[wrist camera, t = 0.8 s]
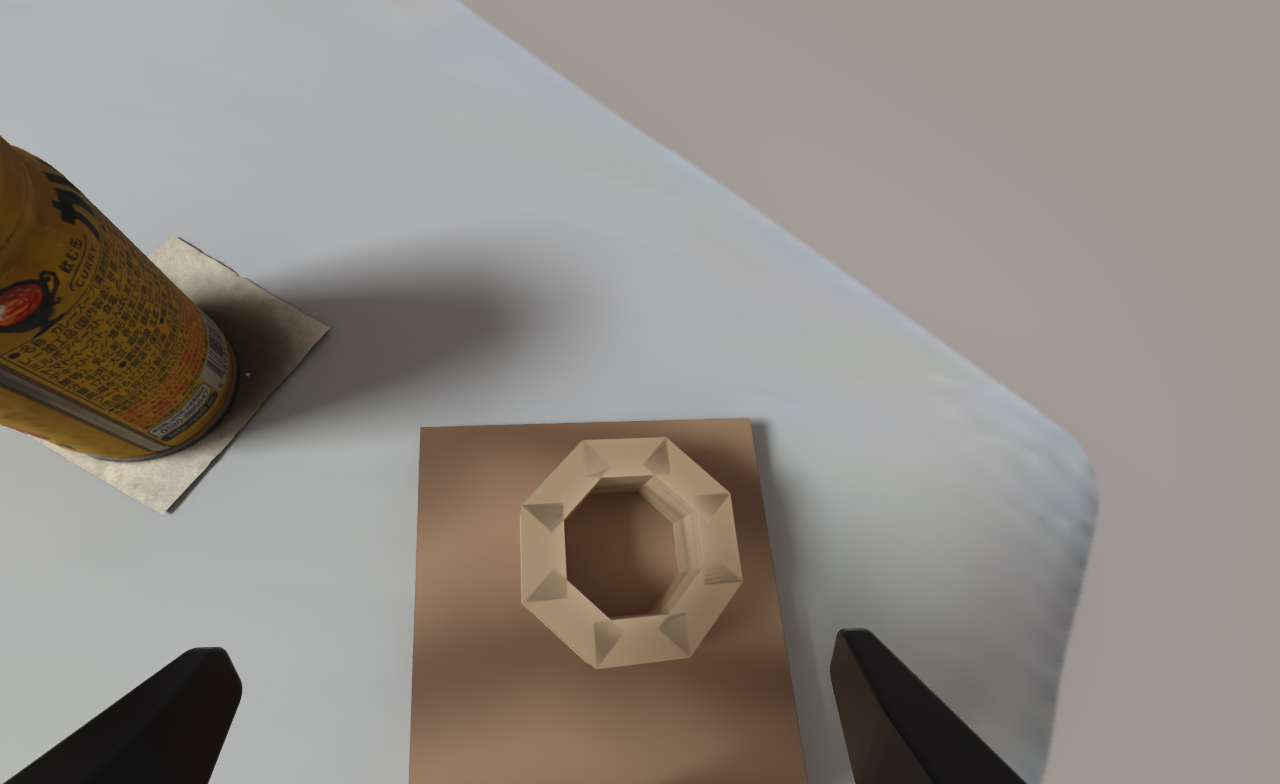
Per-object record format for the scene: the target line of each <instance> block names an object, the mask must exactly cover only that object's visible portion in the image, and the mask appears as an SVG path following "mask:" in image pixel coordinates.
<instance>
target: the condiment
mask: <svg viewBox="0 0 1280 784" xmlns="http://www.w3.org/2000/svg"><path fill="white" fill-rule="evenodd" d="M329 328H330V327H328V326H326V325H325V324H323V323H321V322H319V321H318V320H316V319H314V318H312V317H310V316H308V315H306V314H305V313H303V312H301V311H300V310H298V309H296V308H294V307H293V306H291V305H289V304H288V303H286V302H284V301H282V300H281V299H279V298H277V297H276V296H274V295H272V294H270V293H268V292H267V291H265V290H263V289H262V288H260V287H258V286H257V285H255V284H253V283H252V282H250V281H248V280H247V279H245V278H243V277H240V276H239V275H238V274H236V273H235V272H233V271H231V270H230V269H228V268H227V267H225V266H223V265H221V264H220V263H218V262H217V261H215V260H213V259H211V258H210V257H208V256H206V255H204V254H203V253H201V252H199V251H198V250H197V249H195V248H193V247H192V246H190V245H188V244H187V243H185V242H183V241H181V240H180V239H178V238H176V237H175V236H172V237H171V238H169V239H168V240H167V241H166V242H165V243H164V244H163V245H161V246H159V247H158V248H157V249H156V250H155V251H153V252H152V253H151V255H150V256H149V257H148V258H147V257H146V255H144V254H143V253H142V252H141V251H140V250H139V249H138V248H137V247H136V246H135V245H134V244H133V243H132V242H131V241H130V240H129V239H128V238H127V237H126V236H125V235H124V234H123V233H122V232H121V231H120V230H119V229H118V228H117V227H116V226H115V225H114V224H113V223H112V222H111V221H110V220H109V219H108V218H107V217H106V216H105V215H104V214H103V213H102V212H101V211H100V210H99V209H98V208H97V207H96V206H95V205H93V204H92V203H91V202H90V201H89V200H88V199H87V198H86V197H85V196H84V194H83V193H82V192H81V191H80V190H79V189H78V188H76V187H75V186H74V185H73V184H72V183H71V182H69V181H68V180H67V179H66V178H65V176H64V175H62V174H61V173H60V172H59V171H57V170H56V169H55V168H53V167H52V166H51V165H49V164H48V163H46V162H45V161H43V160H42V159H40V158H38V157H36V156H34V155H32V154H30V153H28V152H27V151H25V150H23V149H20V148H18V147H15V146H12V145H10V144H9V143H8V142H7V141H5V140H4V139H3V138H2V137H1V136H0V425H3V426H6V427H9V428H13V429H16V430H18V431H20V432H23V433H24V434H26V435H28V436H30V437H31V438H33V439H35V440H36V441H38V442H40V443H42V444H43V445H45V446H47V447H48V448H50V449H51V450H53V451H55V452H57V453H58V454H60V455H62V456H64V457H65V458H67V459H69V460H70V461H72V462H74V463H75V464H77V465H79V466H80V467H82V468H84V469H85V470H87V471H89V472H90V473H92V474H94V475H96V476H97V477H99V478H101V479H102V480H104V481H106V482H107V483H109V484H110V485H112V486H114V487H115V488H117V489H118V490H120V491H122V492H124V493H125V494H127V495H129V496H130V497H132V498H134V499H135V500H137V501H139V502H140V503H142V504H144V505H145V506H147V507H149V508H150V509H152V510H154V511H156V512H157V513H159V514H161V515H163V514H164V513H165V511H166V510H167V509H168V508H169V507H170V506H171V505H172V504H173V503H174V501H175V500H176V499H177V498H178V497H179V496H180V495H181V494H182V493H183V492H184V491H185V490H186V489H187V488H188V486H189V485H190V484H191V483H192V482H193V481H194V480H195V479H196V478H197V477H198V476H199V475H200V474H201V473H202V472H203V471H204V470H205V468H206V467H207V466H208V465H209V463H210V462H211V461H212V460H213V459H214V458H215V457H216V456H217V455H218V454H219V453H220V452H221V451H222V450H223V449H224V448H225V447H226V445H227V444H228V443H229V442H230V441H231V440H232V439H233V438H234V436H235V434H236V433H237V432H238V431H240V430H241V429H242V428H243V426H244V425H245V424H246V423H247V421H248V420H249V419H250V418H251V416H252V415H253V414H254V413H255V412H256V411H257V410H258V409H259V407H260V406H261V405H262V403H263V402H264V401H265V399H266V398H267V397H268V396H269V395H270V394H271V393H272V392H273V391H274V390H275V389H276V388H277V387H278V386H279V385H280V384H281V383H282V382H283V380H284V379H285V378H286V377H287V376H288V375H289V374H290V373H291V372H292V371H293V370H294V369H295V368H296V367H297V365H298V364H299V363H300V362H301V361H302V359H303V358H304V357H305V355H306V354H307V353H308V352H309V350H310V349H311V348H312V346H313V345H314V344H315V343H316V342H318V341H319V340H320V338H321V337H322V336H323V335H324V334H325V333H326V332H327V331H328V330H329ZM246 373H251V374H250V377H247V376H245V374H246Z"/></svg>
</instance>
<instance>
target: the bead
mask: <svg viewBox="0 0 1280 784" xmlns="http://www.w3.org/2000/svg"><path fill="white" fill-rule="evenodd" d="M636 491H637V492H638V493H639V494H640V495H641V496H642V497H644V498H645V499H646V500H647V501H648V502H649V503H650V504H651V505H653V506H654V507H655V508H656V509H657V510H658V511H659V512H661V513H662V514H663V515H664V516H665V517H666V518H667V519H668V520H670V521H671V522H672V523H673V530H674V539H675V549H676V558H677V567H678V574H677V575H676V577H675V578H674V579H673V581H672V582H671V583H670V585H669V586H668V587H667V589H666V590H665V591H664V593H663V594H662V595H661V597H660V598H659V599H658V601H657V602H656V603H655V605H654V606H653V607H652V609H651V610H650V611H649V613H648V614H640V615H630V616H620V617H611V618H608V617H607V616H606V615H605V614H604V613H603V612H602V611H600V610H599V609H598V608H597V607H596V606H595V605H594V604H593V603H592V602H591V601H589V600H588V599H587V598H586V597H585V596H584V595H583V594H582V593H581V592H580V591H578V590H577V589H576V588H575V587H574V586H573V585H572V584H571V583H570V582H569V581H567V576H566V555H565V534H564V522H565V521H566V520H567V519H568V518H569V517H570V516H571V514H572V513H573V512H574V511H575V510H576V509H577V508H578V507H579V505H580V504H581V503H582V502H583V501H584V500H585V499H586V497H587V496H588V495H589V494H600V493H618V492H636ZM520 550H521V592H522V604H523V605H524V606H525V607H526V608H527V609H528V610H529V611H531V612H532V613H533V614H534V615H535V616H536V617H537V618H538V619H539V620H540V621H541V622H543V623H544V624H545V625H546V626H547V627H548V628H549V629H550V630H551V631H552V632H553V633H554V634H556V635H557V636H558V637H559V638H560V639H561V640H562V641H563V642H564V643H565V644H566V645H568V646H569V647H570V648H571V649H572V650H573V651H574V652H575V653H576V654H577V655H578V656H579V657H581V658H582V659H583V660H584V661H585V662H587V663H588V664H590V665H591V666H593V667H594V668H595V669H602V668H610V667H618V666H626V665H635V664H643V663H651V662H659V661H667V660H675V659H683V658H690V657H691V656H692V654H693V653H694V651H695V650H696V649H697V647H698V646H699V644H700V643H701V641H702V640H703V638H704V637H705V636H706V634H707V633H708V631H709V630H710V628H711V627H712V625H713V624H714V623H715V621H716V620H717V618H718V617H719V615H720V614H721V613H722V611H723V610H724V608H725V607H726V605H727V604H728V602H729V601H730V600H731V598H732V597H733V595H734V594H735V592H736V591H737V589H738V588H739V587H740V585H741V584H742V582H743V579H742V572H741V565H740V558H739V551H738V544H737V537H736V530H735V523H734V516H733V509H732V502H731V495H730V492H728V491H727V490H726V489H725V488H724V487H723V486H722V485H720V484H719V483H718V482H717V481H716V480H715V479H714V478H712V477H711V476H710V475H709V474H708V473H707V472H706V471H704V470H703V469H702V468H701V467H700V466H699V465H697V464H696V463H695V462H694V461H693V460H692V459H691V458H689V457H688V456H687V455H686V454H685V453H684V452H683V451H681V450H680V449H679V448H678V447H677V446H676V445H675V444H673V443H672V442H671V441H670V440H669V439H668V438H667V437H656V438H627V439H598V440H582V441H581V442H580V443H579V444H578V445H577V447H576V448H575V449H574V450H573V451H572V452H571V453H570V454H569V455H568V456H567V457H566V458H565V459H564V460H563V461H562V463H561V464H560V465H559V466H558V467H557V468H556V469H555V470H554V471H553V472H552V473H551V474H550V475H549V476H548V478H547V479H546V480H545V481H544V482H543V483H542V484H541V485H540V486H539V487H538V488H537V489H536V490H535V491H534V492H533V494H532V495H531V496H530V497H529V498H528V499H527V500H526V501H525V502H524V503H523V504H522V506H521V513H520Z"/></svg>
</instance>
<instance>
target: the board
mask: <svg viewBox="0 0 1280 784" xmlns="http://www.w3.org/2000/svg"><path fill="white" fill-rule="evenodd" d="M656 437H667V438H668V439H669V440H670V441H671V442H672V443H673V444H675V445H676V446H677V447H678V448H679V449H680V450H681V451H683V452H684V453H685V454H686V455H687V456H688V457H689V458H691V459H692V460H693V461H694V462H695V463H696V464H697V465H699V466H700V467H701V468H702V469H703V470H704V471H706V472H707V473H708V474H709V475H710V476H711V477H712V478H714V479H715V480H716V481H717V482H718V483H719V484H720V485H722V486H723V487H724V488H725V489H726V490H727V491H728V492H730V495H731V502H732V509H733V516H734V523H735V530H736V537H737V544H738V551H739V558H740V565H741V572H742V579H743V582H742V584H741V585H740V587H739V588H738V589H737V591H736V592H735V594H734V595H733V597H732V598H731V600H730V601H729V602H728V604H727V605H726V607H725V608H724V610H723V611H722V613H721V614H720V615H719V617H718V618H717V620H716V621H715V623H714V624H713V625H712V627H711V628H710V630H709V631H708V633H707V634H706V636H705V637H704V638H703V640H702V641H701V643H700V644H699V646H698V647H697V649H696V650H695V651H694V653H693V654H692V656H691V657H690V658H683V659H675V660H667V661H659V662H651V663H643V664H635V665H626V666H618V667H610V668H602V669H595V668H594V667H593V666H591V665H590V664H588V663H587V662H585V661H584V660H583V659H582V658H581V657H579V656H578V655H577V654H576V653H575V652H574V651H573V650H572V649H571V648H570V647H569V646H568V645H566V644H565V643H564V642H563V641H562V640H561V639H560V638H559V637H558V636H557V635H556V634H554V633H553V632H552V631H551V630H550V629H549V628H548V627H547V626H546V625H545V624H544V623H543V622H541V621H540V620H539V619H538V618H537V617H536V616H535V615H534V614H533V613H532V612H531V611H529V610H528V609H527V608H526V607H525V606H524V605H523V604H522V592H521V550H520V513H521V506H522V504H523V503H524V502H525V501H526V500H527V499H528V498H529V497H530V496H531V495H532V494H533V492H534V491H535V490H536V489H537V488H538V487H539V486H540V485H541V484H542V483H543V482H544V481H545V480H546V479H547V478H548V476H549V475H550V474H551V473H552V472H553V471H554V470H555V469H556V468H557V467H558V466H559V465H560V464H561V463H562V461H563V460H564V459H565V458H566V457H567V456H568V455H569V454H570V453H571V452H572V451H573V450H574V449H575V448H576V447H577V445H578V444H579V443H580V442H581V441H582V440H598V439H627V438H656ZM564 534H565V555H566V576H567V581H569V582H570V583H571V584H572V585H573V586H574V587H575V588H576V589H577V590H578V591H580V592H581V593H582V594H583V595H584V596H585V597H586V598H587V599H588V600H589V601H591V602H592V603H593V604H594V605H595V606H596V607H597V608H598V609H599V610H600V611H602V612H603V613H604V614H605V615H606V616H607V617H608V618H611V617H620V616H630V615H640V614H648V613H649V611H650V610H651V609H652V607H653V606H654V605H655V603H656V602H657V601H658V599H659V598H660V597H661V595H662V594H663V593H664V591H665V590H666V589H667V587H668V586H669V585H670V583H671V582H672V581H673V579H674V578H675V577H676V575H677V574H678V567H677V558H676V549H675V539H674V530H673V523H672V522H671V521H670V520H668V519H667V518H666V517H665V516H664V515H663V514H662V513H661V512H659V511H658V510H657V509H656V508H655V507H654V506H653V505H651V504H650V503H649V502H648V501H647V500H646V499H645V498H644V497H642V496H641V495H640V494H639V493H638V492H637V491H636V492H618V493H600V494H589V495H588V496H587V497H586V499H585V500H584V501H583V502H582V503H581V504H580V505H579V507H578V508H577V509H576V510H575V511H574V512H573V513H572V514H571V516H570V517H569V518H568V519H567V520H566V521H565V522H564ZM409 784H808V783H807V777H806V770H805V764H804V758H803V752H802V745H801V739H800V733H799V726H798V720H797V714H796V708H795V701H794V695H793V689H792V682H791V676H790V670H789V664H788V657H787V651H786V645H785V638H784V632H783V626H782V620H781V613H780V607H779V601H778V595H777V588H776V582H775V576H774V569H773V563H772V557H771V551H770V544H769V538H768V532H767V525H766V519H765V513H764V507H763V500H762V494H761V488H760V481H759V475H758V469H757V463H756V456H755V450H754V444H753V437H752V431H751V425H750V419H749V418H740V419H704V420H668V421H632V422H595V423H559V424H523V425H487V426H451V427H421V428H420V459H419V489H418V520H417V550H416V581H415V612H414V642H413V673H412V703H411V734H410V764H409Z"/></svg>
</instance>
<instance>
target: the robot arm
mask: <svg viewBox="0 0 1280 784" xmlns="http://www.w3.org/2000/svg"><path fill="white" fill-rule="evenodd" d="M830 675H831V682H832V686H833V690H834V695H835V699H836V703H837V707H838V711H839V716H840V720H841V724H842V728H843V733H844V737H845V741H846V745H847V750H848V754H849V758H850V762H851V767H852V771H853V775H854V779H855V783H856V784H1027V783H1026V782H1025V781H1024V780H1023V779H1022V778H1021V777H1020V776H1019V775H1018V774H1017V773H1016V772H1015V771H1014V770H1012V769H1011V768H1010V767H1009V766H1008V765H1007V764H1006V763H1005V762H1004V761H1003V760H1002V759H1001V758H1000V757H999V756H998V755H997V754H996V753H995V752H994V751H993V750H992V749H991V748H990V747H989V746H988V745H987V744H986V743H985V742H984V741H983V740H982V739H981V738H980V737H979V736H978V735H977V734H975V733H974V732H973V731H972V730H971V729H970V728H969V727H968V726H967V725H966V724H965V723H964V722H963V721H962V720H961V719H960V718H959V717H958V716H957V715H956V714H955V713H954V712H953V711H952V710H951V709H950V708H949V707H948V706H947V705H946V704H945V703H944V702H943V701H942V700H941V699H940V698H938V697H937V696H936V695H935V694H934V693H933V692H932V691H931V690H930V689H929V688H928V687H927V686H926V685H925V684H924V683H923V682H922V681H921V680H920V679H919V678H918V677H917V676H916V675H915V674H914V673H913V672H912V671H911V670H910V669H909V668H908V667H907V666H906V665H905V664H904V663H903V662H901V661H900V660H899V659H898V658H897V657H896V656H895V655H894V654H893V653H892V652H891V651H890V650H889V649H888V648H887V647H886V646H885V645H884V644H883V643H882V642H881V641H880V640H879V639H878V638H877V637H876V636H875V635H874V634H873V633H872V632H870V631H869V630H867V629H863V628H854V629H841V630H840V631H839V632H838V634H837V637H836V642H835V647H834V651H833V656H832V660H831V665H830ZM241 696H242V682H241V680H240V678H239V676H238V674H237V671H236V669H235V667H234V665H233V663H232V661H231V659H230V657H229V655H228V653H227V652H226V650H225V649H223V648H221V647H200V648H193V649H190V650H188V651H186V652H185V653H183V654H182V655H180V656H179V657H178V658H176V659H175V660H173V661H172V662H171V663H169V664H168V665H167V666H165V667H164V668H162V669H161V670H160V671H158V672H157V673H155V674H154V675H153V676H151V677H150V678H149V679H147V680H146V681H144V682H143V683H142V684H140V685H139V686H137V687H136V688H135V689H133V690H132V691H131V692H129V693H128V694H126V695H125V696H124V697H122V698H121V699H120V700H118V701H117V702H115V703H114V704H113V705H111V706H110V707H108V708H107V709H106V710H104V711H103V712H102V713H100V714H99V715H97V716H96V717H95V718H93V719H92V720H90V721H89V722H88V723H86V724H85V725H84V726H82V727H81V728H79V729H78V730H77V731H75V732H74V733H72V734H71V735H70V736H68V737H67V738H66V739H64V740H63V741H61V742H60V743H59V744H57V745H56V746H54V747H53V748H52V749H50V750H49V751H48V752H46V753H45V754H43V755H42V756H41V757H39V758H38V759H37V760H35V761H34V762H32V763H31V764H30V765H28V766H27V767H25V768H24V769H23V770H21V771H20V772H19V773H17V774H16V775H14V776H13V777H12V778H10V779H9V780H7V781H6V782H5V783H3V784H208V782H209V780H210V777H211V775H212V772H213V770H214V767H215V764H216V762H217V759H218V757H219V754H220V752H221V749H222V746H223V744H224V741H225V739H226V736H227V734H228V731H229V729H230V726H231V723H232V721H233V718H234V716H235V713H236V711H237V708H238V706H239V703H240V700H241Z"/></svg>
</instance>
